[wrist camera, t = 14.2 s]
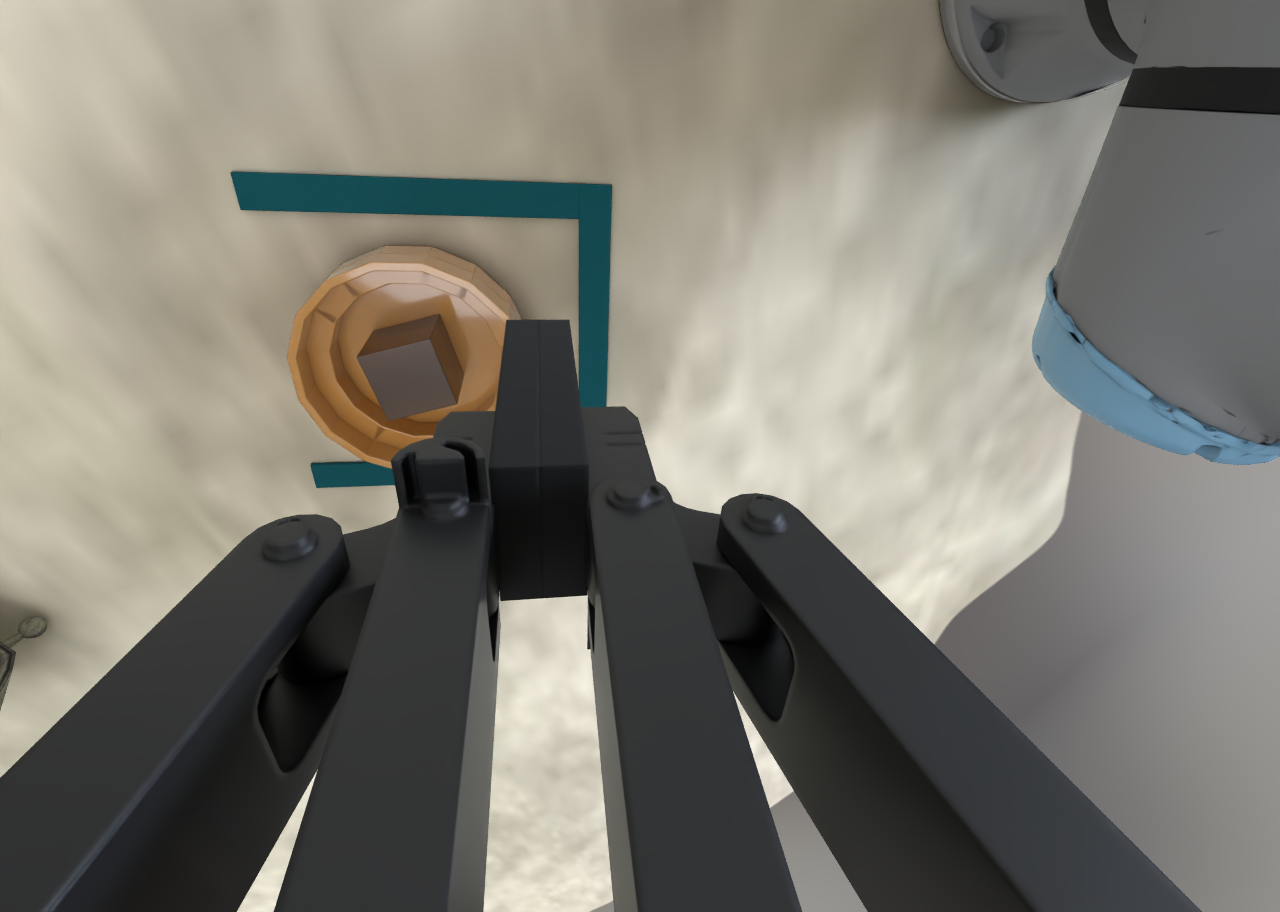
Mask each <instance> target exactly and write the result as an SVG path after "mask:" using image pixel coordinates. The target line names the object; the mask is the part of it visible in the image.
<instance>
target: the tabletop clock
mask: <svg viewBox="0 0 1280 912" xmlns="http://www.w3.org/2000/svg"><path fill="white" fill-rule="evenodd" d="M46 628H47V624H46V621H45V620H44V619H42V618H40V617H30V618H27V619H25V620H23V621H22V622H21V623H20V625H19V626H18V633H16V634H15V635H13V636H11V637H9V638H8V639H6V640H4V641H2V642H0V710H1V707H2V703H3V700H4V696H5V693H6V690H7V686H8V683H9V679H10V676H11V673H12V669H13V664H14V660H15V655H16V652H15V651H13V650H12V649H10V648H11V647H12V646H13V645H15V644H16V643H17V642H18V641H20V640H21V639H22V638H36V637H39V636H40V635H42V634H43V633H44V632H45V630H46Z"/></svg>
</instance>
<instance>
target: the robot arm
mask: <svg viewBox="0 0 1280 912" xmlns="http://www.w3.org/2000/svg"><path fill="white" fill-rule="evenodd" d="M939 1H940V11H941V19H942V24H943V29H944V33H945V36H946V40H947V43H948V45H949V48H950V50H951V53H952V55H953V57H954V59H955V60H956V62H957V64H958V66H959V67H960V68H961V70H962V71H963V73H964V74H965V75H966V76H967V77H968V78H969V79H970V81H971V82H972V83H974V84H975V85H976V86H977V87H979V88H980V89H981V90H983V91H985V92H986V93H988V94H990V95H992V96H994V97H997V98H999V99H1003V100H1007V101H1013V102H1022V103H1049V102H1057V101H1061V100H1067V99H1072V98H1075V99H1078V98H1081V97H1084V96H1087V95H1090V94H1093V93H1096V92H1099V91H1102V90H1105V89H1108V88H1111V87H1114V86H1117V85H1119V84H1122V83H1124V82H1122V83H1119V84H1116V85H1113V86H1110V87H1107V88H1104V89H1101V88H1103V87H1106V86H1108V85H1110V84H1113V83H1115V82H1118V81H1120V80H1123V79H1125V78H1127V77H1130V78H1129V80H1128V83H1127V86H1126V89H1125V91H1124V94H1123V97H1122V99H1121V102H1120V104H1119V106H1118V108H1117V110H1116V113H1115V115H1114V118H1113V121H1112V123H1111V126H1110V129H1109V131H1108V134H1107V136H1106V139H1105V142H1104V144H1103V147H1102V150H1101V152H1100V155H1099V158H1098V160H1097V163H1096V165H1095V168H1094V171H1093V173H1092V176H1091V179H1090V181H1089V184H1088V186H1087V189H1086V192H1085V194H1084V197H1083V199H1082V202H1081V204H1080V207H1079V209H1078V212H1077V214H1076V217H1075V219H1074V222H1073V224H1072V227H1071V229H1070V232H1069V234H1068V237H1067V239H1066V242H1065V244H1064V247H1063V249H1062V252H1061V254H1060V257H1059V259H1058V262H1057V264H1056V265H1055V266H1054V268H1053V270H1052V271H1051V272H1050V273H1049V276H1048V278H1047V281H1046V298H1045V301H1044V304H1043V307H1042V310H1041V313H1040V316H1039V319H1038V322H1037V325H1036V328H1035V331H1034V335H1033V340H1032V351H1033V356H1034V359H1035V361H1036V364H1037V366H1038V368H1039V369H1040V370H1041V371H1042V374H1043V376H1044V378H1045V379H1046V381H1047V382H1048V383H1049V384H1050V385H1051V386H1052V388H1053V389H1054V390H1056V391H1057V392H1058V393H1059V394H1060V395H1061V396H1062V397H1063V398H1065V399H1066V400H1067V401H1068V402H1070V403H1071V404H1072V405H1074V406H1075V407H1077V408H1078V409H1080V410H1081V411H1083V412H1084V413H1086V414H1087V415H1089V416H1091V417H1093V418H1094V419H1096V420H1098V421H1100V422H1101V423H1103V424H1105V425H1107V426H1109V427H1111V428H1113V429H1115V430H1117V431H1119V432H1121V433H1123V434H1126V435H1128V436H1130V437H1132V438H1134V439H1137V440H1139V441H1142V442H1144V443H1147V444H1149V445H1152V446H1155V447H1158V448H1161V449H1164V450H1167V451H1170V452H1174V453H1177V454H1181V455H1189V454H1191V453H1193V452H1194V453H1196V454H1198V455H1200V456H1202V457H1204V458H1205V459H1207V460H1209V461H1211V462H1217V463H1223V464H1233V465H1250V464H1258V463H1266V462H1269V461H1272V460H1274V459H1276V458H1278V457H1280V0H939ZM1125 82H1127V81H1125ZM1098 89H1101V90H1098ZM1096 90H1098V91H1096ZM1093 91H1095V92H1093ZM1091 92H1092V93H1091ZM1082 95H1083V96H1082ZM1079 96H1080V97H1079ZM1076 97H1078V98H1076ZM1075 99H1073V100H1075ZM1070 101H1072V100H1070ZM1068 102H1069V101H1068ZM391 466H392V471H393V476H394V482H395V487H396V492H397V497H398V503H399V510H398V513H397V516H396V518H395V519H393V520H391V521H388V522H386V523H384V524H381V525H378V526H375V527H372V528H368V529H364V530H360V531H356V532H352V533H348V534H344V535H343V533H342V530H341V526H340V525H339V524H338V523H337V522H335V521H334V520H333V519H332V518H328V517H324V516H321V515H317V514H316V515H295V516H290V517H285V518H282V519H278V520H275V521H273V522H271V523H268V524H266V525H264V526H262V527H259V528H258V529H257V530H255V531H254V532H252V533H251V534H250V535H248V536H247V537H246V538H244V539H243V540H242V541H241V542H240V543H239V544H238V545H237V546H236V547H235V548H234V549H233V550H232V551H231V552H230V553H229V554H228V555H227V556H226V557H225V558H224V559H223V560H222V561H221V562H220V563H219V564H218V565H217V566H216V567H215V568H214V569H213V570H212V571H211V572H210V573H209V574H208V575H207V576H206V577H205V578H204V579H203V580H202V581H201V582H200V583H199V584H197V585H196V586H195V587H194V588H193V589H192V590H191V591H190V592H189V593H188V594H187V595H186V596H185V597H184V598H183V599H182V600H181V601H180V602H179V603H178V604H177V605H176V606H175V607H174V608H173V609H172V610H171V611H170V612H169V613H168V614H167V615H166V616H165V617H164V618H163V619H162V620H161V621H160V622H159V623H158V624H157V625H156V626H155V627H154V628H153V629H152V630H151V631H150V632H149V633H148V634H147V635H146V636H145V637H143V638H142V639H141V640H140V641H139V642H138V643H137V644H136V645H135V646H134V647H133V648H132V649H131V650H130V651H129V652H128V653H127V654H126V655H125V656H124V657H123V658H122V659H121V660H120V661H119V662H118V663H117V664H116V665H115V666H114V667H113V668H112V669H111V670H110V671H109V672H108V673H107V674H106V675H105V676H104V677H103V678H102V679H101V680H100V681H99V682H98V683H97V684H96V685H95V686H94V687H93V688H92V689H91V690H89V691H88V692H87V693H86V694H85V695H84V696H83V697H82V698H81V699H80V700H79V701H78V702H77V703H76V704H75V705H74V706H73V707H72V708H71V709H70V710H69V711H68V712H67V713H66V714H65V715H64V716H63V717H62V718H61V719H60V720H59V721H58V722H57V723H56V724H55V725H54V726H53V727H52V728H51V729H50V730H49V731H48V732H47V733H46V734H45V735H44V736H43V737H42V738H41V739H40V740H39V741H38V742H37V743H35V744H34V745H33V746H32V747H31V748H30V749H29V750H28V751H27V752H26V753H25V754H24V755H23V756H22V757H21V758H20V759H19V760H18V761H17V762H16V763H15V764H14V765H13V766H12V767H11V768H10V769H9V770H8V771H7V772H6V773H5V774H4V775H3V776H2V777H1V778H0V912H237V910H238V908H239V907H240V905H241V903H242V901H243V900H244V898H245V896H246V894H247V893H248V891H249V889H250V887H251V885H252V884H253V882H254V880H255V878H256V877H257V875H258V873H259V871H260V870H261V868H262V866H263V864H264V863H265V861H266V859H267V857H268V856H269V854H270V852H271V850H272V849H273V847H274V845H275V843H276V842H277V840H278V838H279V836H280V835H281V833H282V831H283V829H284V827H285V826H286V824H287V822H288V820H289V819H290V817H291V815H292V813H293V812H294V810H295V808H296V806H297V805H298V803H299V801H300V799H301V798H302V796H303V794H304V792H305V791H306V789H307V787H308V785H309V784H310V782H311V780H312V778H313V777H314V775H315V773H316V771H317V769H318V771H317V774H316V777H315V780H314V784H313V787H312V790H311V793H310V796H309V800H308V803H307V806H306V809H305V813H304V816H303V819H302V822H301V825H300V829H299V832H298V835H297V838H296V842H295V845H294V848H293V851H292V854H291V858H290V861H289V864H288V867H287V871H286V874H285V877H284V880H283V883H282V887H281V890H280V893H279V896H278V899H277V903H276V906H275V909H274V912H483V907H484V890H485V874H486V857H487V841H488V824H489V808H490V792H491V775H492V759H493V742H494V726H495V709H496V693H497V676H498V660H499V644H500V627H501V623H500V612H499V590H500V600H501V601H507V600H523V599H538V598H554V597H569V596H585V595H587V590H588V642H587V649H591V659H592V670H593V681H594V692H595V703H596V714H597V726H598V737H599V748H600V759H601V770H602V781H603V792H604V803H605V814H606V825H607V836H608V847H609V858H610V869H611V880H612V891H613V902H614V912H802V910H801V906H800V903H799V901H798V897H797V894H796V891H795V887H794V884H793V881H792V878H791V875H790V872H789V868H788V865H787V862H786V859H785V856H784V852H783V849H782V846H781V843H780V840H779V837H778V833H777V831H776V827H775V824H774V821H773V817H772V814H771V811H770V808H769V805H768V802H767V798H766V795H765V792H764V789H763V786H762V783H761V779H760V776H759V773H758V770H757V767H756V763H755V760H754V757H753V754H752V751H751V748H750V744H749V741H748V738H747V735H746V732H745V729H744V725H743V722H742V719H741V716H740V713H739V709H738V706H737V703H736V700H735V697H734V694H733V691H734V693H735V695H736V696H737V698H738V700H739V701H740V703H741V705H742V706H743V708H744V709H745V711H746V713H747V714H748V716H749V718H750V719H751V721H752V723H753V724H754V726H755V727H756V729H757V731H758V732H759V734H760V736H761V737H762V739H763V741H764V742H765V744H766V746H767V747H768V749H769V750H770V752H771V754H772V755H773V757H774V759H775V760H776V762H777V764H778V765H779V767H780V768H781V770H782V772H783V773H784V775H785V777H786V778H787V780H788V782H789V783H790V785H791V786H792V788H793V790H794V791H795V793H796V795H797V796H798V798H799V799H800V801H801V803H802V804H803V806H804V808H805V809H806V811H807V813H808V814H809V816H810V818H811V819H812V821H813V823H814V824H815V826H816V827H817V829H818V831H819V832H820V834H821V836H822V837H823V839H824V841H825V842H826V844H827V845H828V847H829V849H830V850H831V852H832V854H833V855H834V857H835V859H836V860H837V862H838V863H839V865H840V866H841V868H842V870H843V872H844V873H845V875H846V877H847V878H848V880H849V882H850V883H851V885H852V886H853V888H854V890H855V891H856V893H857V895H858V896H859V898H860V900H861V901H862V903H863V905H864V906H865V908H866V909H867V911H868V912H1202V911H1201V910H1200V909H1199V908H1198V907H1197V906H1195V904H1194V903H1193V902H1192V901H1191V900H1190V899H1189V898H1188V897H1187V896H1185V894H1183V892H1182V891H1181V890H1180V889H1179V888H1178V887H1176V885H1175V884H1174V883H1173V882H1172V881H1171V880H1170V879H1168V877H1167V876H1166V875H1165V874H1164V873H1163V872H1162V871H1161V870H1160V869H1159V868H1158V867H1157V866H1156V865H1155V864H1154V863H1152V861H1151V860H1149V858H1147V856H1146V855H1145V854H1144V853H1143V852H1142V851H1141V850H1139V848H1138V847H1137V846H1135V845H1134V844H1133V842H1132V841H1131V840H1129V838H1127V837H1126V836H1125V835H1124V834H1123V833H1122V832H1121V831H1120V830H1119V829H1118V828H1117V827H1116V826H1115V825H1114V824H1113V823H1112V822H1111V821H1110V820H1109V819H1108V818H1107V817H1106V816H1105V815H1104V814H1103V813H1102V812H1101V811H1100V810H1099V809H1098V808H1097V807H1096V806H1095V805H1094V804H1093V803H1092V802H1091V801H1090V800H1089V799H1088V798H1087V797H1086V796H1085V795H1084V794H1083V793H1082V792H1081V791H1080V790H1079V789H1078V788H1077V787H1076V786H1075V785H1074V784H1073V783H1072V782H1071V781H1070V780H1069V779H1068V778H1067V777H1066V776H1065V775H1064V774H1063V773H1062V772H1061V771H1060V770H1059V769H1058V768H1057V767H1056V766H1055V765H1054V764H1053V763H1052V762H1051V761H1050V760H1049V759H1048V758H1047V757H1046V756H1045V755H1044V754H1043V753H1042V752H1041V751H1040V750H1039V749H1038V748H1037V747H1036V746H1035V745H1034V744H1033V743H1032V742H1031V741H1030V740H1029V739H1028V738H1027V737H1026V736H1025V735H1024V734H1023V733H1022V732H1021V731H1020V730H1019V729H1018V728H1017V727H1016V726H1015V725H1014V724H1013V723H1012V722H1011V721H1010V720H1009V719H1008V718H1007V717H1006V716H1005V715H1004V714H1003V713H1002V712H1001V711H1000V710H999V709H998V708H997V707H996V706H995V705H994V704H993V703H992V702H991V701H990V700H989V699H988V698H987V697H986V696H985V695H984V694H983V693H982V692H981V691H980V690H979V689H978V688H977V687H976V686H975V685H974V684H973V683H972V682H971V681H970V680H969V679H968V678H967V677H966V676H965V675H964V674H963V673H962V672H961V671H960V670H959V669H958V668H957V667H956V666H955V665H954V664H953V663H952V662H951V661H950V660H949V659H948V658H947V657H946V656H945V655H944V654H943V653H942V652H941V651H940V650H939V649H938V648H937V647H936V646H935V645H934V644H933V643H932V642H931V641H930V640H929V639H928V638H927V637H926V636H925V635H924V634H923V633H922V632H921V631H920V630H919V629H918V628H917V627H916V626H915V625H914V624H913V623H912V622H911V621H910V620H909V619H908V618H907V617H906V616H905V615H904V614H903V613H902V612H901V611H900V610H899V609H898V608H897V607H896V606H895V605H894V604H893V603H892V602H891V601H890V600H889V599H888V598H887V597H886V596H885V595H884V594H883V593H882V592H881V591H880V590H879V589H878V588H877V587H876V586H875V585H874V584H873V583H872V582H871V581H870V580H869V579H868V578H867V577H866V576H865V575H864V574H863V573H862V572H861V571H860V570H859V569H858V568H857V567H856V566H855V565H854V564H853V563H852V562H851V561H850V560H849V559H848V558H847V557H846V556H845V555H844V554H843V553H842V552H841V551H840V550H839V549H838V548H837V547H836V546H835V545H834V544H833V543H832V542H831V541H830V540H829V539H828V538H827V537H826V536H825V535H824V534H823V533H822V532H821V531H820V530H819V529H818V528H817V527H816V526H815V525H814V524H813V523H812V522H811V521H810V520H809V519H808V518H807V517H806V516H805V515H804V514H803V513H802V512H800V511H799V510H798V509H797V508H795V507H794V506H793V505H791V504H790V503H789V502H787V501H784V500H782V499H779V498H777V497H774V496H770V495H764V494H758V493H754V494H741V495H739V496H736V497H733V498H730V499H729V500H728V501H727V502H726V503H725V504H724V505H723V506H722V510H721V515H720V514H714V513H708V512H702V511H697V510H693V509H689V508H686V507H683V506H681V505H678V504H676V503H674V502H673V500H672V497H671V494H670V493H669V491H668V490H667V488H666V487H665V486H664V485H662V484H661V483H659V482H657V481H656V477H655V474H654V471H653V467H652V464H651V460H650V457H649V454H648V450H647V447H646V445H645V440H644V437H643V434H642V430H641V427H640V423H639V420H638V418H637V417H636V416H635V415H634V414H633V413H632V412H630V411H629V410H628V409H627V408H626V407H581V404H580V396H579V389H578V381H577V374H576V367H575V359H574V352H573V344H572V337H571V329H570V322H569V320H506V327H505V335H504V343H503V351H502V359H501V368H500V376H499V384H498V392H497V401H496V409H495V411H459V412H450V413H449V414H448V415H447V416H446V417H444V418H443V419H442V420H441V421H440V422H439V423H438V424H437V425H436V429H435V432H434V436H433V438H429V439H424V440H421V441H418V442H415V443H412V444H409V445H408V446H406V447H404V448H403V449H401V450H399V451H398V452H397V453H396V454H395V456H394V457H393V458H392V460H391Z"/></svg>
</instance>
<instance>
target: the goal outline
mask: <svg viewBox="0 0 1280 912" xmlns="http://www.w3.org/2000/svg"><path fill="white" fill-rule="evenodd" d="M231 176H232V180H233V184H234V187H235V191H236V195H237V198H238V202H239V206H240V209H241V210H263V211H301V212H338V213H376V214H414V215H452V216H489V217H527V218H565V219H579V396H580V404H581V407H606V393H607V354H608V315H609V277H610V238H611V199H612V185H602V184H574V183H545V182H517V181H488V180H460V179H431V178H402V177H374V176H345V175H317V174H288V173H260V172H231ZM310 466H311V470H312V473H313V477H314V481H315V484H316V488H326V487H353V486H381V485H395V482H394V476H393V471H392V469H391V468H387V467H384V466H380V465H377V464H373V463H370V462H341V463H312V464H311V465H310Z"/></svg>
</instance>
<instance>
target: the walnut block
mask: <svg viewBox="0 0 1280 912" xmlns="http://www.w3.org/2000/svg"><path fill="white" fill-rule="evenodd" d="M356 358H357V360H358V362H359V364H360V366H361V368H362V370H363V372H364V374H365V376H366V378H367V380H368V382H369V384H370V386H371V388H372V390H373V392H374V394H375V396H376V398H377V400H378V402H379V404H380V406H381V408H382V410H383V412H384V414H385V416H386V418H387V420H388V421H392V420H396V419H400V418H404V417H408V416H412V415H416V414H420V413H424V412H428V411H432V410H436V409H440V408H444V407H448V406H452V405H456V404H458V399H459V395H460V391H461V387H462V383H463V379H464V372H463V370H462V367H461V365H460V362H459V360H458V357H457V355H456V352H455V350H454V347H453V345H452V342H451V340H450V337H449V335H448V332H447V330H446V327H445V325H444V322H443V320H442V317H441V315H440V314H437V315H433V316H429V317H425V318H421V319H417V320H413V321H409V322H405V323H401V324H397V325H393V326H389V327H385V328H381V329H377V330H374V331H373V332H372V333H371V335H370V336H369V338H368V340H367V341H366V343H365V344H364V346H363V347H362V349H361V351H360V352H359V354H358V355H357V357H356Z"/></svg>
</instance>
